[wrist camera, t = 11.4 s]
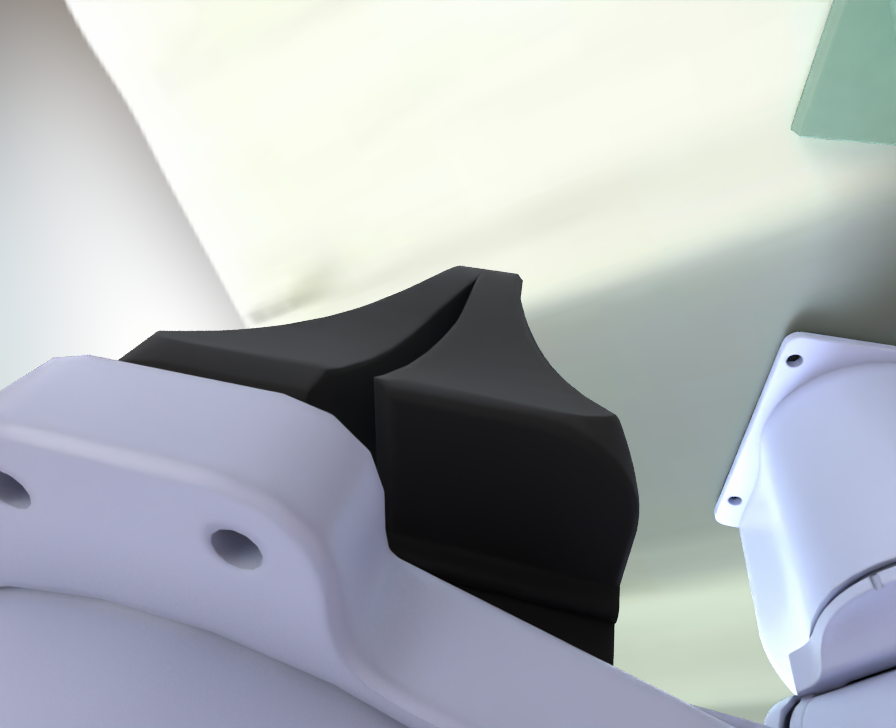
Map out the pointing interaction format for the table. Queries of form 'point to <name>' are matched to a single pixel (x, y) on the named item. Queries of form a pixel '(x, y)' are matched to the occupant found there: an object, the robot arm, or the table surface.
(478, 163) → the table surface
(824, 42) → the tap control
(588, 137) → the table surface
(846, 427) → the robot arm
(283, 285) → the table surface
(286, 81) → the table surface
